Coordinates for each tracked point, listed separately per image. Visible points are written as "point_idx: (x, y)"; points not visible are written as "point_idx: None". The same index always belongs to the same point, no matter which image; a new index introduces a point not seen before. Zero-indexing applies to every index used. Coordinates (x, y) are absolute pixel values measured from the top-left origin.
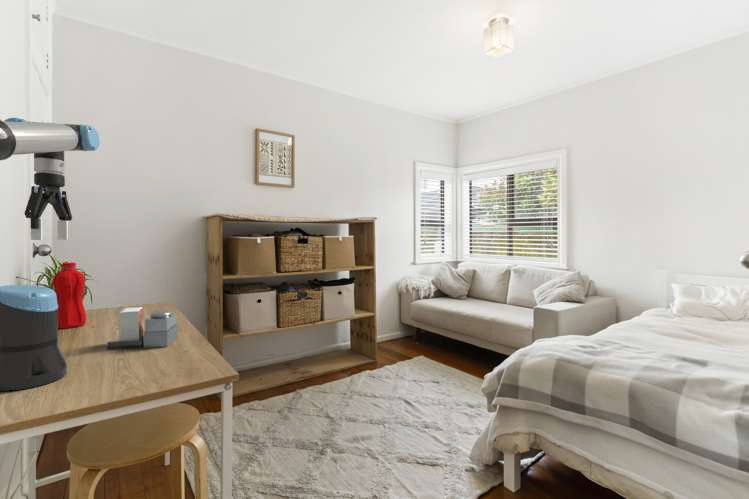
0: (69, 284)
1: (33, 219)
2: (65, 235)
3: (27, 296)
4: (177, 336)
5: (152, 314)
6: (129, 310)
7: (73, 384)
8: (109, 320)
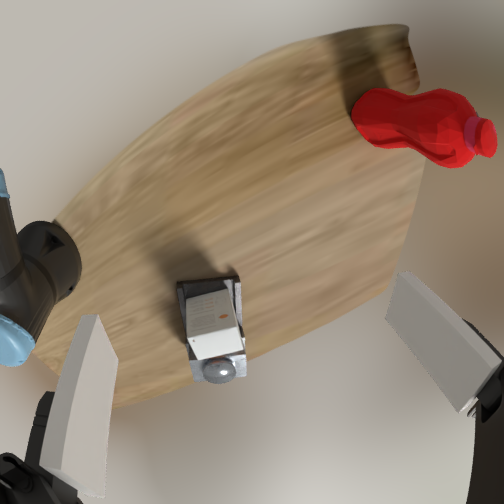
0: (420, 140)
1: (39, 467)
2: (401, 331)
3: None
4: None
5: (205, 368)
6: (205, 346)
7: None
8: (404, 173)
